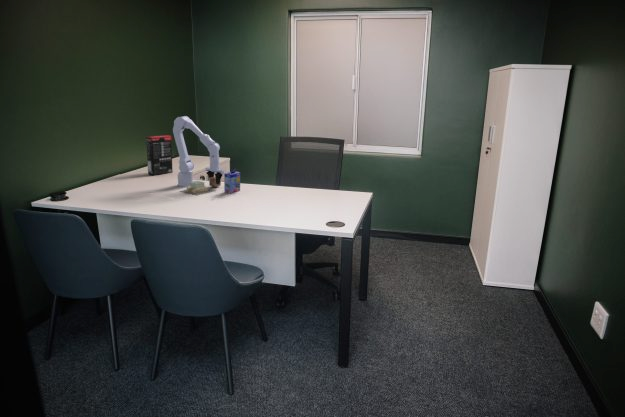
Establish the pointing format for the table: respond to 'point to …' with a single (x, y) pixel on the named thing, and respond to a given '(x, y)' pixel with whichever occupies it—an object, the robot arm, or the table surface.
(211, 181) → the walnut cube
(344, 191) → the table surface
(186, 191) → the desk mat
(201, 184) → the sage block
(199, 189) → the oak slab
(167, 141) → the graphics card box
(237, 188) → the ink cartridge box
